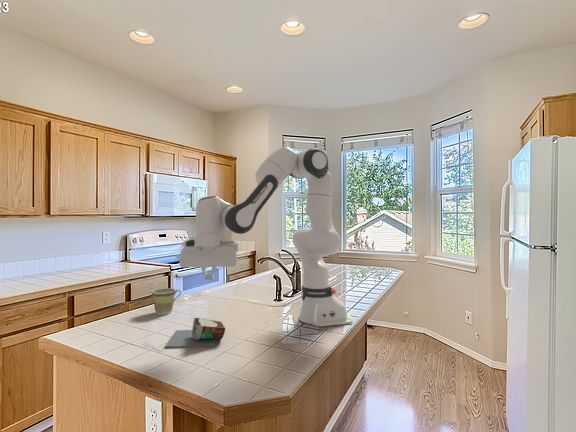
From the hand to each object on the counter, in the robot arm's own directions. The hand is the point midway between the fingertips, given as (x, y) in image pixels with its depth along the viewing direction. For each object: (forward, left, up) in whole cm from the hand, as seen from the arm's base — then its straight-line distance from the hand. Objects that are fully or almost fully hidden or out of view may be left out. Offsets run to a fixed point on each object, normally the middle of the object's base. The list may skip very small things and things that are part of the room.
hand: (209, 279), depth 119 cm
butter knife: (+13, +11, -22) cm, 28 cm away
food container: (-5, 0, -20) cm, 20 cm away
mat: (+6, 0, -22) cm, 22 cm away
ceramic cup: (+24, -33, -22) cm, 46 cm away
